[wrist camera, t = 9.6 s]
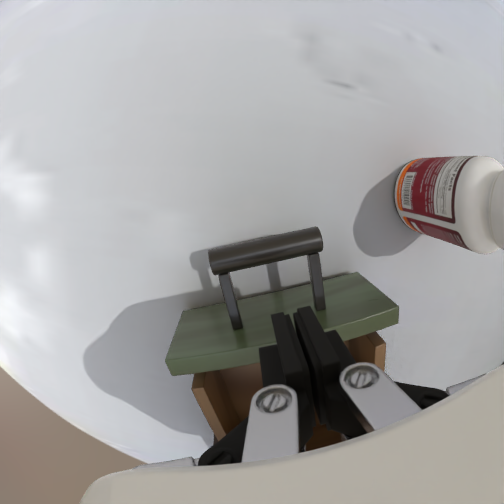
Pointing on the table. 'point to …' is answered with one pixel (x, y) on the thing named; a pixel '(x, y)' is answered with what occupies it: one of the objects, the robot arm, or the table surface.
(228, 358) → the drawer
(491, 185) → the pill bottle
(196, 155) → the table surface
